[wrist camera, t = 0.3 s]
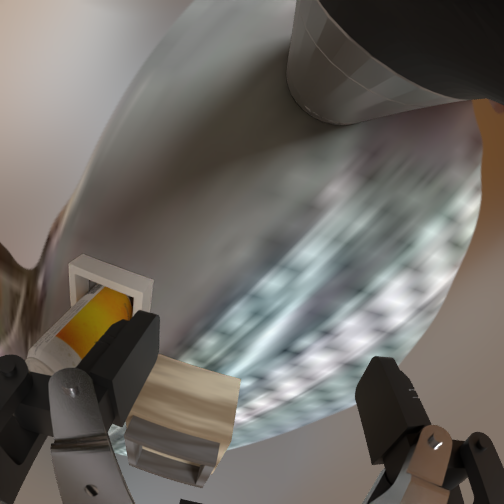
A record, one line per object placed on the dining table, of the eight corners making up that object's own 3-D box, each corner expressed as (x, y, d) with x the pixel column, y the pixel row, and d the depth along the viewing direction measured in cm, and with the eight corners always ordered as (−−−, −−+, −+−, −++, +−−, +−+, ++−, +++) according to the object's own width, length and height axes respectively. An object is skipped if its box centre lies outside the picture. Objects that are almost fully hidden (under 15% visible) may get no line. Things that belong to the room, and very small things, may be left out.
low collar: (82, 253, 29) (68, 263, 27) (153, 279, 30) (143, 292, 27) (84, 317, 33) (73, 329, 30) (147, 344, 33) (138, 358, 31)
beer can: (112, 326, 33) (53, 405, 19) (87, 287, 31) (14, 358, 17) (144, 314, 32) (84, 405, 18) (117, 272, 30) (38, 350, 16)
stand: (153, 351, 34) (114, 427, 22) (240, 379, 34) (227, 463, 22) (150, 400, 38) (122, 464, 26) (221, 423, 39) (208, 491, 26)
